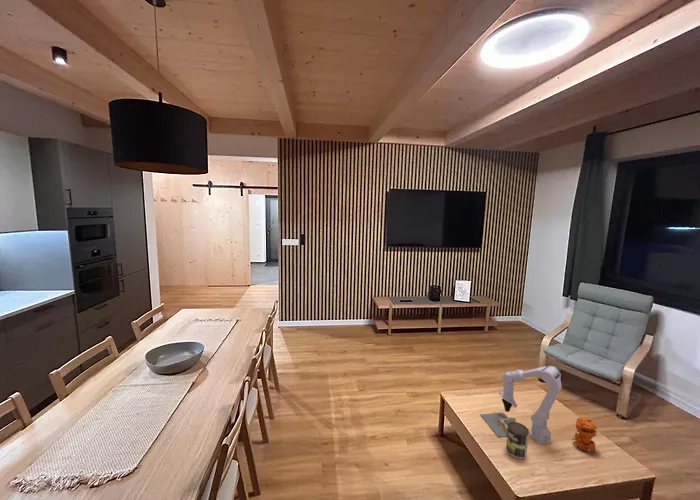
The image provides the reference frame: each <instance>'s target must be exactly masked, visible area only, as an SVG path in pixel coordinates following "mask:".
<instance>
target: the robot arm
mask: <svg viewBox="0 0 700 500" xmlns="http://www.w3.org/2000/svg"><path fill="white" fill-rule="evenodd" d="M561 375H562V374H561V372H560V371H559V369H558V368H557V367H556V366H554V365H548V366H547V365H546V366H541V367H536V368H533V369H528V370H522V369H515V370H514V371H512V370H510V371H507V372H506V373H504V374H503V375H502V376H501V377H502V380H503V388H502V389H503V390H499V395H500V396H501V397H502V398H501V401H502V405H503V407H504V411H505V412H507V413H508V412H510V411H511V408H512V407H513V408H515V409H516V408H518V403H517V402H516V401H515V397H514V391H515V390H514V389H515V382H519V381H525V380H526V378H530V377H537V378H539V379H542V381H543V382H544V383H545V384H546V385H547V386H548V387H549V388H548V390H547V392H546V394H545V396H544V397H543V399H542V401H541V403H540V405H539V407H538V408H537V410H536V411H535V412H534V413H533V414H531V416H530V420H531V423H532V424H531V431H530V430H529V434H528V435H529V436H530V437H532V438H533V440H535V442H536V443H537V444H538V445H543V444H552V441H551V437H552V436H551V435H552V432H551V430H550V429H549V428H548V422H547V421H548V420H549V419H550V412H551V409H552V407H553V405H554V403H555V402H556V400H557V397H558V396H559V394H560V392H561V391H562V386H563V385H562V381H561Z"/></svg>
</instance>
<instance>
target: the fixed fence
mask: <svg viewBox="0 0 700 500" xmlns="http://www.w3.org/2000/svg"><path fill="white" fill-rule="evenodd" d="M499 425H500V426H501V427H502V428H503V430H504V431H505V432H506V433H507V431H508V426H507V425H506V424H505V423H504V422H503V420H502V417H499Z"/></svg>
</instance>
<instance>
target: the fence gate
mask: <svg viewBox="0 0 700 500" xmlns="http://www.w3.org/2000/svg"><path fill="white" fill-rule="evenodd" d="M502 420H503V422H504V423H505V424H506V425H508V423H510V422H517V418H516V417H510V418H509V417H508V418H504V419H502Z"/></svg>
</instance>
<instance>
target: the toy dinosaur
mask: <svg viewBox="0 0 700 500" xmlns="http://www.w3.org/2000/svg"><path fill="white" fill-rule="evenodd" d="M593 420H594V419H593V418H591V419H590V418H589V417H588V416H587V417H586V416H585V417H579V416H578V418H576V421H575V428H576V431H577V432H575V433H574V437H572V441H573V440H574V441H575V442H576V447H578V448H580V450H584V451H586V452H590V451H591V452H593V451H594V450H593V449H595V450H596V443H595V441H594V440H592V439H593V438H594V437H596V436H597V434H598V433H597V431H596V430H598V426H597V424H596V423H595V422H594V421H593Z"/></svg>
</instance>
